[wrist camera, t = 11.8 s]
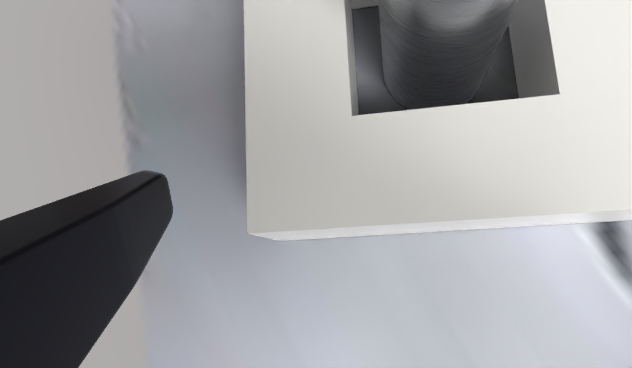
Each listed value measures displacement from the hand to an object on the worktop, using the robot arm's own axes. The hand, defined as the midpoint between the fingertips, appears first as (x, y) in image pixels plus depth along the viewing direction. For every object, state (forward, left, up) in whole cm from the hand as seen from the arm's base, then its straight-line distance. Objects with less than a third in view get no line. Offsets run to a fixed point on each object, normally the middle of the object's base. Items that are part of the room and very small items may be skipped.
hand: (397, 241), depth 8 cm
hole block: (+7, -2, -8) cm, 11 cm away
